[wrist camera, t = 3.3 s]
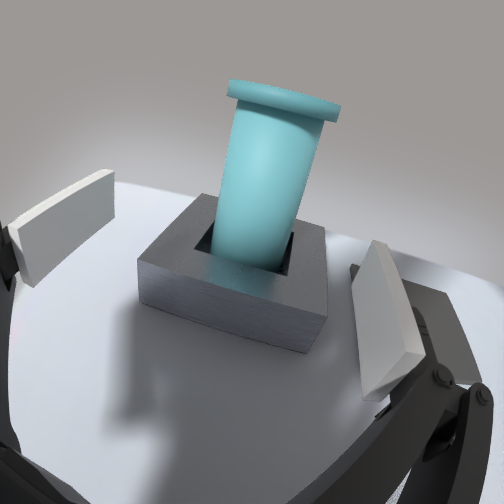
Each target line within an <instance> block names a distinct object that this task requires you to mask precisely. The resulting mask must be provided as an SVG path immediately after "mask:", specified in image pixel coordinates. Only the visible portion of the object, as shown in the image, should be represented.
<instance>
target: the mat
mask: <svg viewBox="0 0 504 504" xmlns="http://www.w3.org/2000/svg"><path fill="white" fill-rule="evenodd" d="M359 268H360V266H358V265H354V264H352V265H351V267H350V272H351V278H352V283H353V281H354V279H355V277H356V275H357V273H358V270H359ZM401 280H402V283H403V286H404V288H405V291H406V294H407V297H408V300H409V302H410V305H411V306H413V307H416V308H417V309H418V310H419V312H420V313H421V314H422V316H423V317H424V320H425V323H426V326H427V328H426V329H428V332H429V337H430V338H431V341H432V344H433V347H434V351H435V354H436V357H437V361H438V363H441V364H443V365H444V366H446V367H447V368H448V369H449V370H450V371H451V373H452V375H453V377H454V380H455V384H466V385H473V384H474V383H476V382H480V383H482V378H481V375H480V373H479V370H478V367H477V364H476V361H475V358H474V356H473V353H472V350H471V348H470V345H469V343H468V340H467V338H466V335H465V333H464V331H463V328H462V326H461V324H460V321H459V319H458V317H457V315H456V313H455V310H454V308H453V306H452V304H451V302H450V300H449V298H448V296H447V294H446V293H444V292H441V291H438V290H435V289H432V288H429V287H426V286H422V285H419V284H416V283H413V282H410V281H406V280H403V279H401Z"/></svg>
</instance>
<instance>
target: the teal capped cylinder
mask: <svg viewBox="0 0 504 504" xmlns="http://www.w3.org/2000/svg"><path fill="white" fill-rule="evenodd" d="M227 96H229V97H232V98H236V99H238V102H237V107H236V112H235V117H234V122H233V127H232V131H231V136H230V141H229V146H228V152H227V156H226V162H225V167H224V172H223V178H222V183H221V189H220V194H219V200H218V206H217V212H216V218H215V224H214V230H213V236H212V242H211V249H210V254H211V255H215V256H218V257H221V258H225V259H228V260H232V261H235V262H238V263H242V264H245V265H249V266H252V267H256V268H259V269H262V270H266V271H269V272H273V273H276V274H278V271H279V268H280V265H281V262H282V259H283V256H284V253H285V250H286V247H287V244H288V240H289V237H290V234H291V231H292V228H293V225H294V222H295V218H296V215H297V212H298V209H299V205H300V202H301V199H302V196H303V192H304V189H305V186H306V183H307V179H308V176H309V172H310V169H311V166H312V162H313V159H314V155H315V152H316V149H317V145H318V142H319V138H320V135H321V131H322V128H323V124H324V121H325V120H326V121H331V122H337V119H338V116H339V112H340V109H341V106H340V105H337V104H334V103H332V102H328V101H326V100H322V99H319V98H316V97H312V96H309V95H305V94H301V93H298V92H294V91H290V90H286V89H282V88H277V87H273V86H268V85H264V84H259V83H253V82H248V81H242V80H235V79H230V82H229V87H228V92H227Z"/></svg>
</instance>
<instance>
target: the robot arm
mask: <svg viewBox="0 0 504 504" xmlns="http://www.w3.org/2000/svg"><path fill="white" fill-rule="evenodd" d="M114 218H115V216H114V171H113V170H108V169H102V170H100V171H98V172H96V173H94V174H92V175H90V176H88V177H86V178H84V179H82V180H80V181H78V182H76V183H75V184H73V185H71V186H69V187H67V188H65V189H64V190H62V191H60V192H58V193H57V194H55V195H53V196H51V197H50V198H48V199H46V200H45V201H43V202H41V203H40V204H38V205H36V206H35V207H33V208H32V209H30V210H28V211H27V212H25V213H24V214H22V215H21V216H19V217H18V218H16V219H15V220H13V221H12V222H10V223H9V224H8V225H7V226H6V227H5V228H3V229H2V226H1V222H0V504H90V503H89V502H88V501H87V500H86V499H84V498H83V497H82V496H81V495H80V494H79V493H78V492H77V491H76V490H74V489H73V488H72V487H71V486H70V485H68V484H66V483H65V482H63V481H62V480H60V479H59V478H57V477H56V476H54V475H53V474H51V473H50V472H48V471H47V470H45V469H44V468H42V467H40V466H39V465H37V464H35V463H34V462H32V461H31V460H29V459H27V458H26V457H24V456H23V455H22V454H21V448H20V444H19V441H18V438H17V436H16V434H15V432H14V430H13V428H12V426H11V422H10V414H9V399H8V350H9V335H10V324H11V315H12V307H13V300H14V293H15V287H16V277H15V274H16V273H17V272H18V271H20V274H21V278H22V281H23V282H24V283H26V284H27V285H29V286H31V287H32V288H34V287H35V286H36V285H37V284H38V283H39V282H40V281H41V280H42V279H43V278H44V277H45V276H46V275H47V274H49V273H50V272H51V271H52V270H53V269H54V268H55V267H56V266H57V265H58V264H59V263H61V262H62V261H63V260H64V259H65V258H66V257H67V256H69V255H70V254H71V253H72V252H73V251H74V250H75V249H77V248H78V247H79V246H80V245H81V244H83V243H84V242H85V241H86V240H87V239H89V238H90V237H91V236H92V235H93V234H95V233H96V232H97V231H98V230H100V229H101V228H102V227H103V226H105V225H106V224H107V223H108V222H110V221H111V220H112V219H114ZM351 289H352V296H353V304H354V312H355V320H356V329H357V338H358V348H359V360H360V373H361V389H362V400H367V401H375V402H381V401H382V400H383V399H384V398H385V397H386V396H387V395H388V394H389V393H390V401H391V403H389V404H388V405H387V406H386V407H385V408H384V409H383V410H382V411H380V412H379V413H378V414H377V415H376V416H375V418H376V419H375V420H374V421H373V423H372V424H371V425H370V426H369V427H368V428H367V429H366V431H365V432H364V433H363V434H362V435H361V436H360V437H359V438H358V439H357V440H356V441H355V442H354V443H353V445H352V446H351V447H350V448H349V449H348V450H347V451H346V452H345V453H344V454H343V455H342V456H341V457H340V458H339V459H338V460H337V461H336V462H334V463H333V464H332V465H331V466H330V467H329V468H328V469H327V470H326V471H325V472H324V473H323V474H322V475H320V476H319V477H318V478H317V479H316V480H315V481H314V482H312V483H311V484H310V485H309V486H308V487H306V488H305V489H304V490H303V491H302V492H300V493H299V494H298V495H297V496H295V497H294V498H293V499H292V500H290V501H289V502H288V503H286V504H385V503H386V502H387V500H388V499H389V498H390V497H391V495H392V494H393V493H394V491H395V490H396V489H397V487H398V486H399V485H400V483H401V482H402V481H403V479H404V478H405V476H406V475H407V473H408V472H409V470H410V469H411V471H410V473H409V476H408V478H407V481H406V483H405V486H404V488H403V490H402V492H401V495H400V497H399V499H398V501H397V503H396V504H479V501H480V497H481V493H482V489H483V485H484V480H485V475H486V470H487V464H488V458H489V452H490V444H491V435H492V424H493V408H494V402H493V397H492V394H491V391H490V390H489V388H488V387H486V386H485V385H484V384H482V383H480V382H476V383H474V384H473V385H472V386H471V387H470V388H469V389H468V390H467V389H465V388H462V387H460V386H458V385H456V384H455V380H454V377H453V375H452V373H451V371H450V370H449V369H448V368H447V367H446V366H444V365H443V364H441V363H438V361H437V357H436V354H435V351H434V347H433V344H432V341H431V338H430V337H429V332H428V329H426V328H427V326H426V323H425V320H424V317H423V316H422V314H421V313H420V312H419V310H418V309H417V308H416V307H413V306H411V305H410V302H409V300H408V297H407V294H406V291H405V288H404V286H403V283H402V280H401V278H400V275H399V273H398V270H397V268H396V265H395V263H394V260H393V258H392V255H391V253H390V250H389V248H388V246H387V244H384V243H381V242H378V241H375V240H373V241H372V243H371V245H370V247H369V250H368V252H367V254H366V256H365V258H364V260H363V262H362V264H361V266H360V268H359V270H358V273H357V275H356V277H355V279H354V281H353V283H352V284H351ZM454 438H455V439H454Z"/></svg>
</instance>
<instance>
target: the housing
mask: <svg viewBox="0 0 504 504" xmlns="http://www.w3.org/2000/svg"><path fill="white" fill-rule="evenodd" d="M218 200H219V197H215V196H210V195H207V194H203V193H202V194H201V195H200V196H199V197H197V198H196V199H195V200H194V201H193V202H192V203H191V204H190V205H189V206H188V207H187V208H186V209H185V210H184V211H183V212H182V213H181V214H180V215H179V216H178V217H177V218H176V219H175V220H174V221H173V222H172V223H171V224H170V225H169V226H168V227H167V228H166V229H165V230H164V231H163V232H162V233H161V234H160V235H159V236H158V238H157V239H156V240H155V241H154V242H153V243H152V244H151V245H150V246H149V247H148V248H147V249H146V250H145V251H144V252H143V253H142V254H141V256H140V257H139V258H138V259H137V269H138V289H139V302H141V303H144V304H147V305H149V306H152V307H155V308H157V309H160V310H163V311H166V312H168V313H171V314H174V315H177V316H180V317H183V318H186V319H189V320H192V321H195V322H198V323H201V324H204V325H207V326H210V327H213V328H216V329H219V330H222V331H226V332H229V333H232V334H236V335H239V336H242V337H246V338H249V339H253V340H256V341H260V342H263V343H267V344H271V345H274V346H278V347H282V348H286V349H290V350H294V351H298V352H302V353H306V354H307V353H308V351H309V349H310V347H311V346H312V344H313V342H314V340H315V339H316V337H317V335H318V333H319V331H320V330H321V328H322V326H323V324H324V322H325V320H326V319H327V317H328V303H327V268H326V247H325V230H324V227H321V226H318V225H314V224H311V223H308V222H305V221H301V220H298V219H295V222H294V225H293V228H292V231H291V234H290V237H289V240H288V244H287V247H286V250H285V253H284V256H283V259H282V262H281V265H280V266H281V267H283V269H282V274H281V275H280V274H276V273H273V272H269V271H266V270H262V269H259V268H256V267H252V266H249V265H245V264H242V263H238V262H235V261H232V260H228V259H225V258H221V257H218V256H215V255H211V254H210V249H211V242H212V236H213V230H214V224H215V218H216V212H217V206H218Z"/></svg>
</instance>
